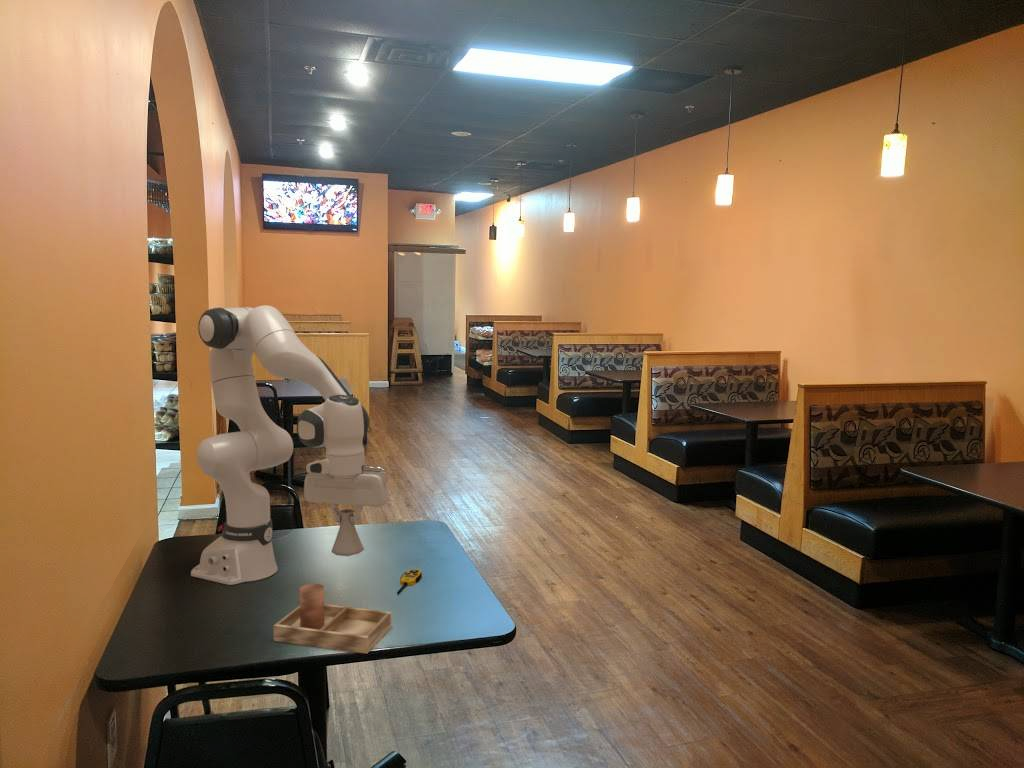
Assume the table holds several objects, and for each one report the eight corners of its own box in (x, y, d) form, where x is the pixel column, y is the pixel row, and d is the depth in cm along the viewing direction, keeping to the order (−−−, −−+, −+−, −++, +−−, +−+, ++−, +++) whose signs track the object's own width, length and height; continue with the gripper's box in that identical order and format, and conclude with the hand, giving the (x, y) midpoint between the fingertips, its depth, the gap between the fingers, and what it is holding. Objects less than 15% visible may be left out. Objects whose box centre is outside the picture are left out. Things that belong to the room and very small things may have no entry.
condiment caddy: (273, 640, 157) (272, 596, 156) (304, 615, 169) (303, 574, 168) (367, 653, 152) (366, 608, 150) (391, 626, 164) (391, 584, 163)
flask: (348, 559, 166) (346, 517, 165) (325, 553, 170) (324, 512, 169) (369, 550, 172) (368, 509, 171) (347, 544, 176) (346, 505, 175)
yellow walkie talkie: (425, 568, 196) (406, 589, 181) (425, 575, 196) (406, 596, 182) (408, 567, 197) (388, 588, 182) (408, 573, 197) (388, 595, 182)
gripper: (392, 464, 169) (393, 521, 171) (313, 459, 174) (314, 515, 175) (381, 470, 163) (382, 529, 165) (299, 465, 168) (301, 523, 169)
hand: (346, 522), depth 170 cm, fingers closed on flask, 3 cm apart
